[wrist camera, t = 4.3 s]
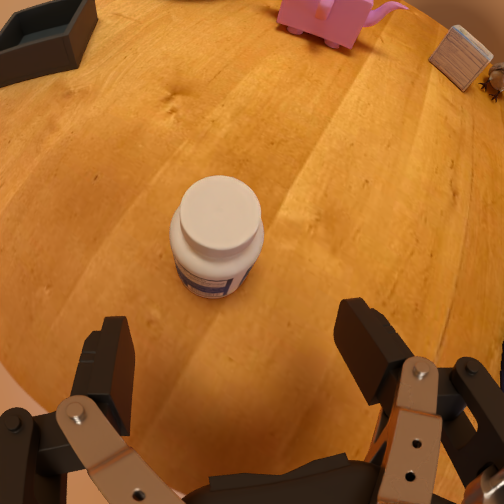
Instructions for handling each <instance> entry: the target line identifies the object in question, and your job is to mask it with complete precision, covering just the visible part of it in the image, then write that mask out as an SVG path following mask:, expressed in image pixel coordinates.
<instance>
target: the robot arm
mask: <svg viewBox="0 0 504 504" xmlns="http://www.w3.org/2000/svg"><path fill="white" fill-rule="evenodd" d="M334 341H335V344H336V346H337V348H338V350H339V352H340V353H341V355H342V357H343V359H344V361H345V363H346V364H347V366H348V368H349V370H350V372H351V374H352V375H353V377H354V379H355V381H356V383H357V385H358V386H359V388H360V390H361V392H362V394H363V396H364V398H365V399H366V401H367V403H368V405H369V406H370V405H374V404H377V403H380V404H381V406H382V408H381V410H380V412H379V416H378V420H377V424H376V427H375V431H374V434H373V438H372V441H371V445H370V448H369V451H368V453H367V455H366V457H365V459H364V461H358V460H348V458H347V456H346V454H345V453H341V454H337V455H334V456H330V457H326V458H322V459H318V460H314V461H312V462H310V463H308V464H305V465H303V466H301V467H299V468H297V469H295V470H293V471H290V472H288V473H286V474H283V475H266V474H251V473H240V474H231V475H222V476H211V477H209V483H210V485H207V486H203V487H201V488H199V489H196V490H194V491H193V492H191V493H189V494H187V495H186V496H185V497H183V498H182V499H181V498H179V496H177V495H176V494H175V493H174V492H173V491H172V490H171V489H170V488H169V487H168V486H167V485H166V484H165V483H164V482H163V480H162V479H161V478H160V477H159V476H158V475H157V474H156V473H155V472H154V471H153V470H152V469H151V468H150V467H149V466H148V464H147V463H146V462H145V461H144V460H143V459H142V458H141V457H140V455H139V454H138V453H137V452H136V451H135V450H134V449H133V448H132V447H129V446H128V445H127V444H126V443H125V441H124V440H123V439H122V438H121V437H120V436H130V420H131V405H132V392H133V380H134V370H135V351H134V346H133V342H132V338H131V334H130V330H129V326H128V322H127V318H126V317H125V316H111V317H105V318H104V322H103V326H102V329H101V331H92V333H91V334H90V335H89V336H88V337H87V339H86V340H85V342H84V345H83V349H82V354H81V356H80V359H79V363H78V367H77V371H76V375H75V378H74V382H73V387H72V391H71V395H70V397H68V398H66V399H65V400H63V401H62V402H61V403H60V404H59V406H58V407H57V410H56V411H55V412H52V413H48V414H43V415H38V416H33V417H32V416H31V414H30V413H29V412H28V411H27V410H25V409H23V408H18V407H15V408H11V409H9V410H7V411H5V412H4V413H3V414H2V415H1V416H0V504H66V495H67V473H68V472H73V471H78V470H82V469H86V470H87V471H88V472H87V473H88V475H89V476H90V478H91V479H92V481H93V482H94V484H95V485H96V486H97V488H98V489H99V490H100V492H101V493H102V495H103V496H104V497H105V499H106V500H107V501H108V502H109V504H456V503H453V502H451V501H449V500H447V499H444V498H442V497H440V496H438V495H436V494H433V488H434V482H435V476H436V470H437V464H438V457H439V449H440V441H441V442H442V444H443V446H444V448H445V450H446V452H447V454H448V455H449V457H450V459H451V461H452V463H453V465H454V467H455V469H456V471H457V473H458V475H459V477H460V479H461V481H462V483H463V485H464V487H465V492H464V499H463V501H462V503H461V504H504V393H503V392H502V390H501V389H500V387H499V386H498V385H497V383H496V382H495V381H494V379H493V378H492V377H491V375H490V374H489V373H488V371H487V370H486V369H485V367H484V366H483V365H482V364H481V363H480V362H479V361H478V360H476V359H474V358H471V357H462V358H460V359H458V360H457V362H456V364H455V366H454V367H453V368H437V367H436V366H435V364H434V363H433V362H431V361H430V360H428V359H426V358H423V357H418V356H414V355H413V353H412V352H411V351H410V349H409V348H408V347H407V345H406V344H405V343H404V341H403V340H402V339H401V337H400V336H399V335H398V333H396V332H395V329H394V328H393V327H392V326H390V323H389V322H388V320H387V319H386V318H385V317H384V315H382V314H381V313H379V312H378V311H377V310H375V309H374V308H371V309H370V308H369V307H368V305H367V304H366V303H365V301H364V300H363V299H362V298H360V297H359V298H351V299H343V300H342V301H341V302H340V305H339V310H338V314H337V318H336V323H335V327H334ZM466 406H468V408H469V409H470V411H471V412H472V414H473V416H474V417H475V419H476V421H477V423H478V430H477V432H476V430H475V429H474V427H473V425H472V424H471V422H470V421H469V419H468V417H467V416H466V414H465V412H464V411H463V410H464V408H465V407H466Z"/></svg>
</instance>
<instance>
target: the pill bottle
mask: <svg viewBox="0 0 504 504" xmlns="http://www.w3.org/2000/svg"><path fill="white" fill-rule="evenodd" d="M169 234H170V245H171V248H172V252H173V256H174V260H175V264H176V268H177V271H178V274H179V277H180V279H181V281H182V282H183V284H184V285H185V286H186V287H187V288H188V289H189V290H190V291H191V292H193V293H194V294H196V295H199V296H201V297H205V298H221V297H224V296H227V295H229V294H231V293H232V292H234V291H235V290H236V289H237V288H238V287H239V286H240V285H241V284H242V283H243V281H244V280H245V278H246V277H247V275H248V273H249V271H250V270H251V268H252V266H253V264H254V263H255V261H256V260H257V258H258V256H259V254H260V252H261V249H262V245H263V241H264V228H263V223H262V220H261V208H260V204H259V201H258V199H257V197H256V195H255V193H254V192H253V191H252V190H251V188H250V187H249V186H247V185H246V184H245V183H243V182H242V181H240V180H238V179H235V178H233V177H228V176H222V175H218V176H210V177H206V178H203V179H201V180H199V181H197V182H196V183H194V184H193V185H192V186H191V187H190V188H189V189H188V190H187V191H186V193H185V194H184V196H183V198H182V201H181V204H180V206H179V207H178V208H177V210H176V211H175V213H174V215H173V217H172V220H171V224H170V232H169Z"/></svg>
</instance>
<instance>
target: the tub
mask: <svg viewBox="0 0 504 504" xmlns="http://www.w3.org/2000/svg"><path fill="white" fill-rule="evenodd" d="M97 21H98V18H97V12H96V6H95V0H53V1H49V2H46V3H42V4H39V5H36V6H33V7H30V8H26V9H23V10H20V11H18V12H15V13H14V14H13V15H12V16H11V17H10V19H9V20H8V22H7V23H6V24H5V25H4V27H3V28H2V30H1V31H0V87H3V86H7V85H10V84H13V83H17V82H20V81H24V80H28V79H32V78H36V77H40V76H44V75H48V74H52V73H57V72H62V71H67V70H72V69H77V68H78V66H79V64H80V61H81V58H82V56H83V53H84V51H85V48H86V46H87V44H88V41H89V39H90V36H91V34H92V32H93V30H94V27H95V25H96V23H97Z"/></svg>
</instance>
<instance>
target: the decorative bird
mask: <svg viewBox="0 0 504 504" xmlns="http://www.w3.org/2000/svg"><path fill="white" fill-rule="evenodd" d="M489 81H490V82H491V85H492V87H493V88H494V89H496V90H499V92H498V93H497V94H495V95H493V94H489V95H492V96H493V98H492V100H493V99H494V98H495V99H496V102H497V96H498V94H499V93H500V92H502V91H503V90H504V63H497V64H495V65H493V66H492V67H491V68H490V70H489V80H488V81H487V82H486V83H478V84H482V85H483V87H482V88H484V87H485V92H486V87H487V83H488V82H489ZM482 88H481V89H482Z"/></svg>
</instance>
